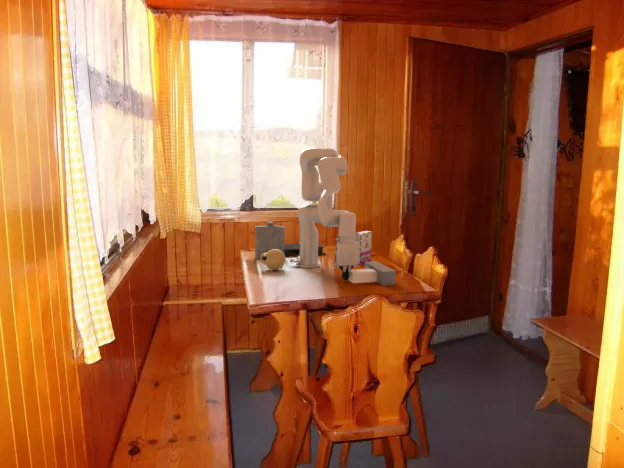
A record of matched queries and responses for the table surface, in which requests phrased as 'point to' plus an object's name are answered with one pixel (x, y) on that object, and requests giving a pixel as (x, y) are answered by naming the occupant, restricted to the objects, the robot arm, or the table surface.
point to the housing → (382, 273)
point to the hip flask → (269, 238)
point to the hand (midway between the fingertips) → (345, 279)
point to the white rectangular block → (363, 275)
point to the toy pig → (273, 259)
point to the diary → (298, 249)
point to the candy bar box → (364, 246)
